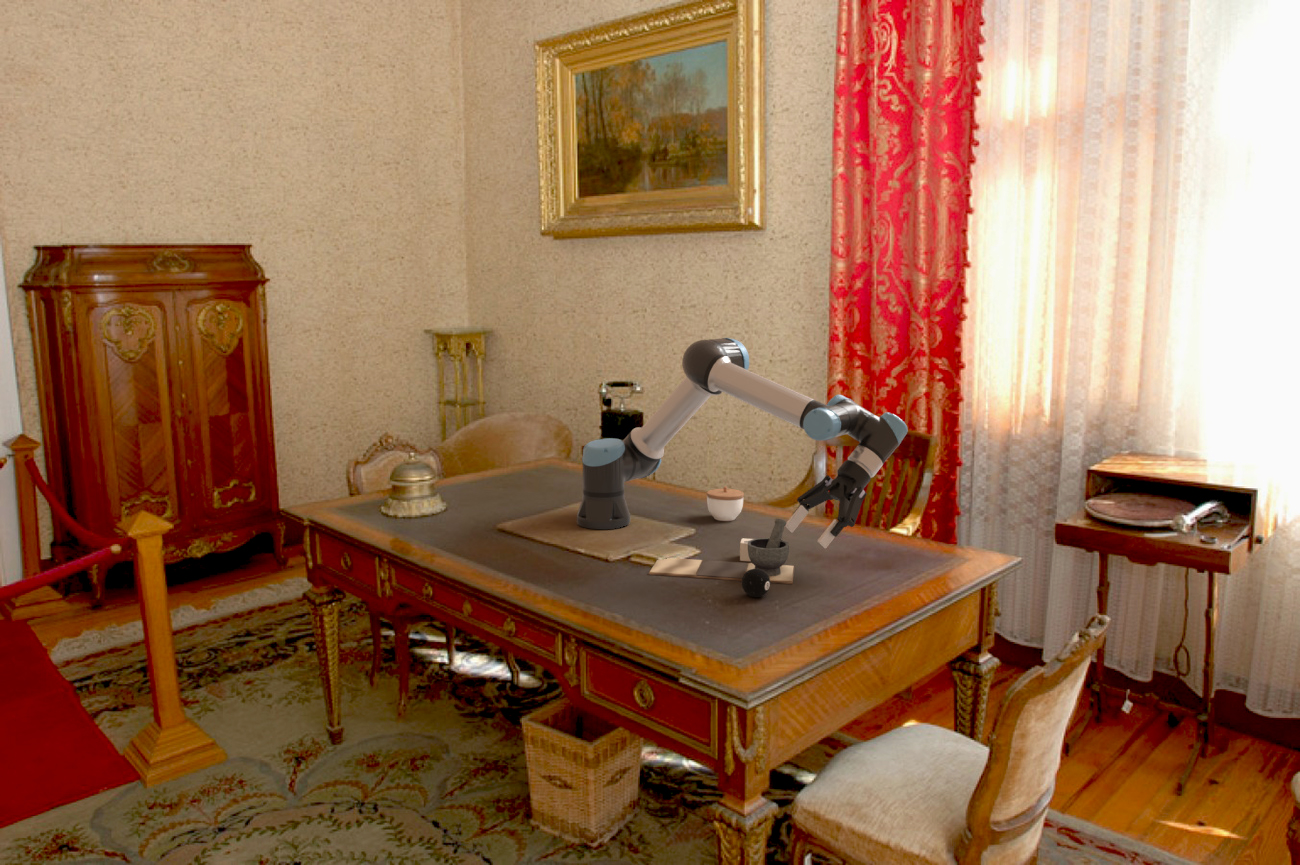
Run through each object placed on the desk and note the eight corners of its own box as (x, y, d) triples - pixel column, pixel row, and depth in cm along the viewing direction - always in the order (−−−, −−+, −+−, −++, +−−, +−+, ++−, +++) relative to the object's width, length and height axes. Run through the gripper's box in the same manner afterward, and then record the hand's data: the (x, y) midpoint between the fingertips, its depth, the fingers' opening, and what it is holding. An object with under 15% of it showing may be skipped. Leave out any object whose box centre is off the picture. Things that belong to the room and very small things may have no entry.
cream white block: (739, 560, 221) (740, 542, 220) (741, 555, 225) (742, 538, 225) (758, 562, 220) (758, 543, 219) (759, 556, 224) (760, 539, 224)
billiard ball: (751, 590, 199) (752, 563, 198) (774, 595, 195) (775, 569, 194) (736, 596, 194) (736, 569, 193) (759, 602, 191) (760, 575, 190)
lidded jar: (743, 514, 267) (743, 483, 266) (743, 523, 257) (744, 491, 255) (706, 513, 268) (707, 482, 267) (705, 522, 258) (706, 490, 256)
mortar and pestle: (772, 581, 203) (774, 529, 201) (738, 573, 209) (739, 522, 207) (799, 570, 212) (800, 520, 210) (765, 562, 218) (767, 513, 216)
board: (648, 574, 209) (648, 572, 209) (658, 558, 222) (658, 556, 222) (792, 584, 203) (792, 581, 203) (794, 567, 216) (794, 565, 216)
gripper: (819, 449, 226) (766, 513, 222) (884, 469, 204) (827, 541, 200) (836, 468, 229) (784, 532, 226) (902, 490, 207) (845, 561, 203)
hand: (804, 536), depth 213 cm, fingers open, 13 cm apart
